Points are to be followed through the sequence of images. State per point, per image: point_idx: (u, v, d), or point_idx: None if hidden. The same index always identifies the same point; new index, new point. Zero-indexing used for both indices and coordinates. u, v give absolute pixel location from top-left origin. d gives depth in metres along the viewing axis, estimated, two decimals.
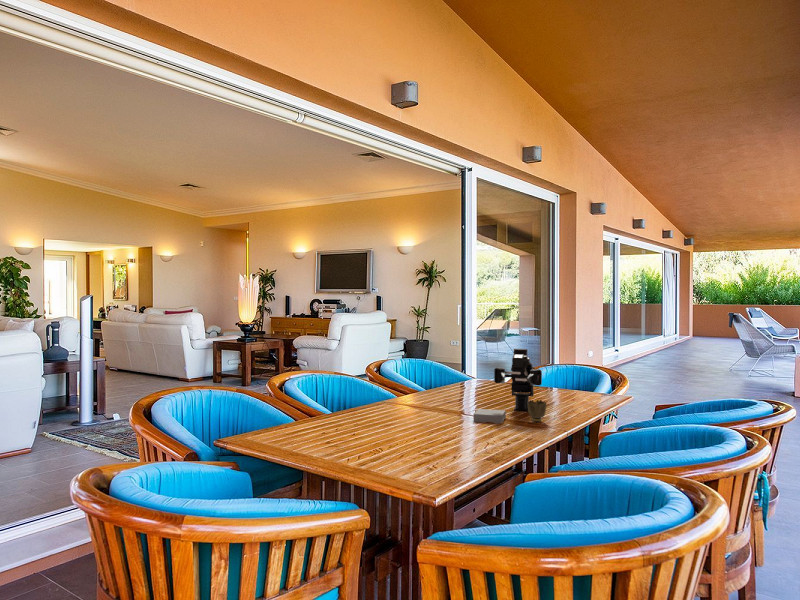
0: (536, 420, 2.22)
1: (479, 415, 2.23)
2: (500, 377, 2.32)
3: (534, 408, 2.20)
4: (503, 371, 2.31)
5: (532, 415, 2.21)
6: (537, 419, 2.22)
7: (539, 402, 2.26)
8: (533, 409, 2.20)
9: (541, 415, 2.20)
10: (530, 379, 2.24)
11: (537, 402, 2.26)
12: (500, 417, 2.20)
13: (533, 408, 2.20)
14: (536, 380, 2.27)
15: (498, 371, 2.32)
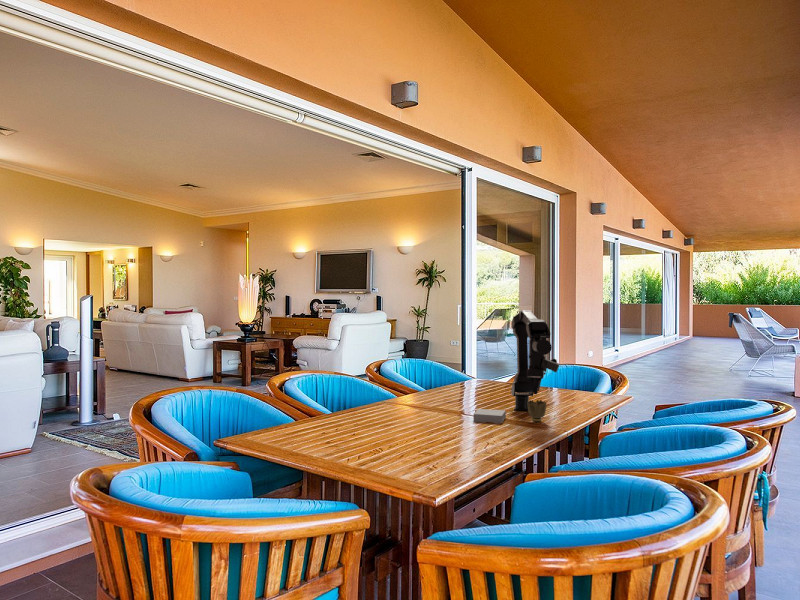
0: (536, 420, 2.22)
1: (479, 415, 2.23)
2: None
3: (534, 408, 2.20)
4: None
5: (532, 415, 2.21)
6: (537, 419, 2.22)
7: (539, 402, 2.26)
8: (533, 409, 2.20)
9: (541, 415, 2.20)
10: None
11: (537, 402, 2.26)
12: (500, 417, 2.20)
13: (533, 408, 2.20)
14: None
15: (540, 378, 2.16)
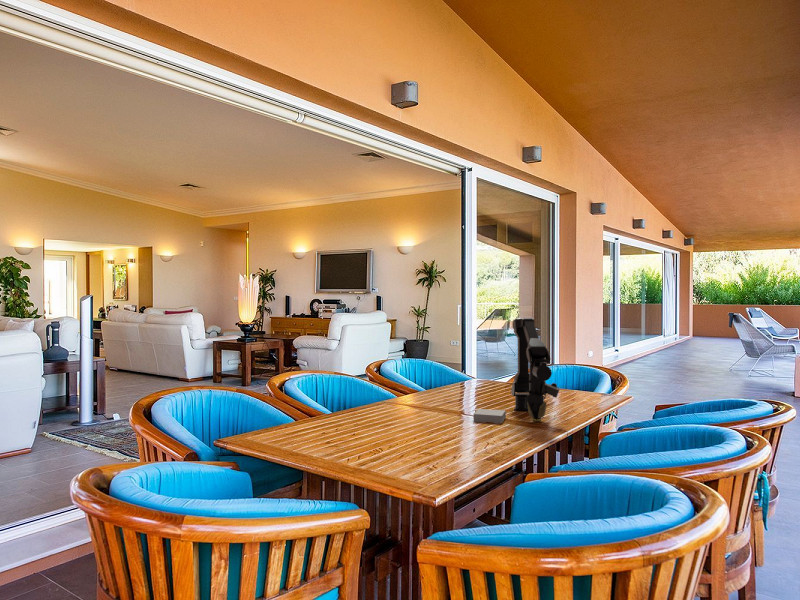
0: (536, 420, 2.22)
1: (479, 415, 2.23)
2: None
3: None
4: None
5: (532, 415, 2.21)
6: (537, 419, 2.22)
7: None
8: None
9: (541, 415, 2.20)
10: None
11: None
12: (500, 417, 2.20)
13: None
14: None
15: None
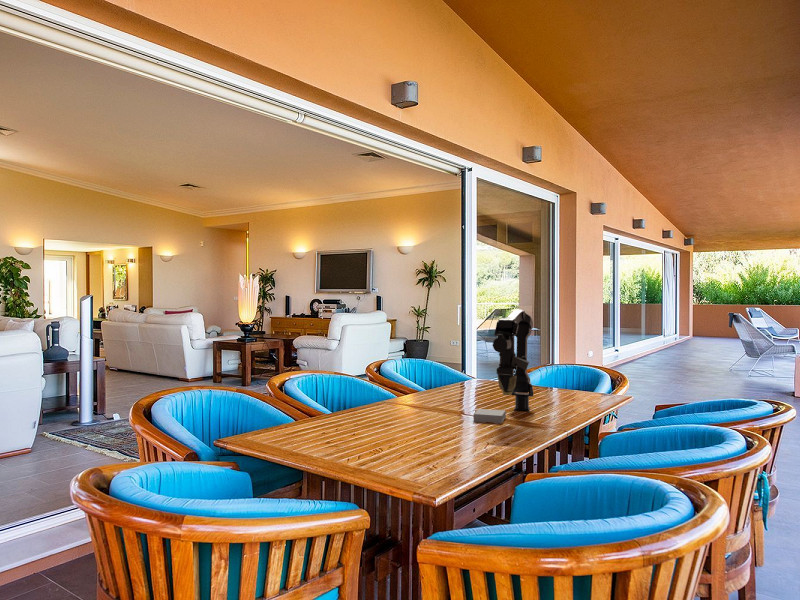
0: (506, 393, 2.24)
1: (479, 415, 2.23)
2: None
3: None
4: (511, 376, 2.21)
5: (502, 388, 2.23)
6: (507, 392, 2.24)
7: None
8: None
9: (511, 388, 2.23)
10: None
11: None
12: (500, 417, 2.20)
13: None
14: None
15: (510, 375, 2.19)
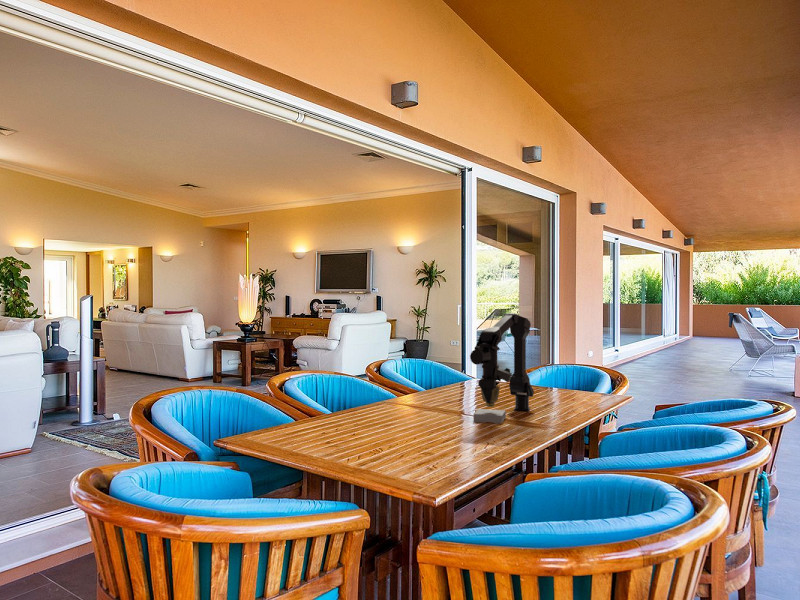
0: (489, 404, 2.25)
1: (479, 415, 2.23)
2: None
3: None
4: (493, 388, 2.22)
5: (485, 399, 2.25)
6: (490, 403, 2.25)
7: None
8: None
9: (494, 399, 2.24)
10: None
11: None
12: (500, 417, 2.20)
13: None
14: None
15: (492, 388, 2.20)
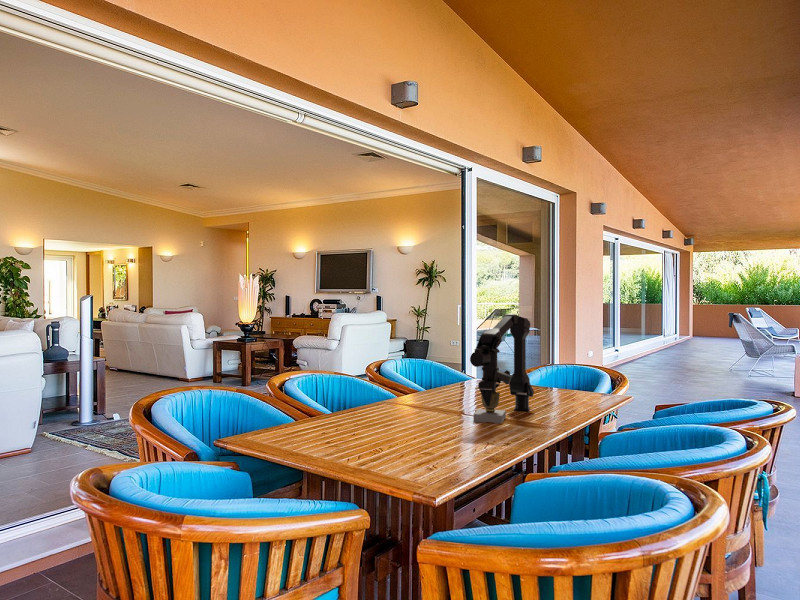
0: (489, 410, 2.25)
1: (479, 415, 2.23)
2: None
3: None
4: None
5: (485, 405, 2.25)
6: (490, 409, 2.25)
7: (493, 393, 2.30)
8: None
9: (494, 405, 2.24)
10: None
11: None
12: (500, 417, 2.20)
13: None
14: None
15: (491, 390, 2.19)
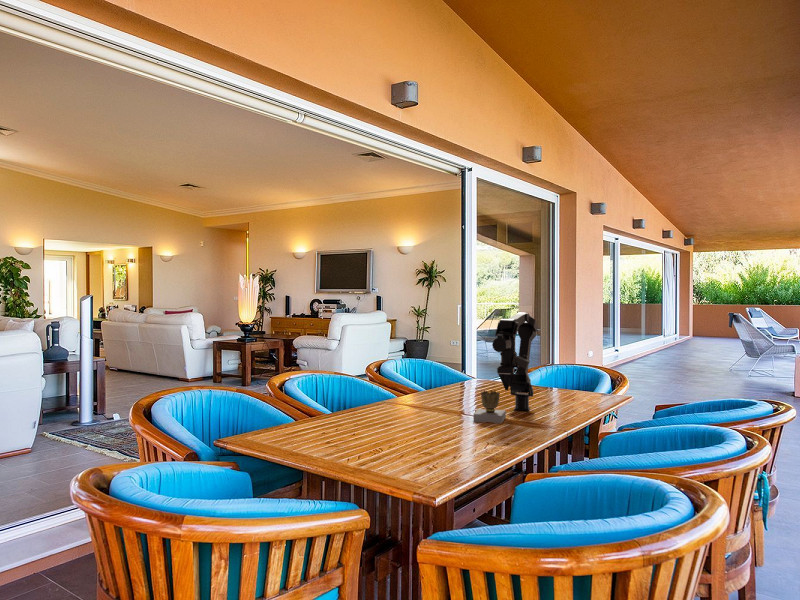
0: (489, 410, 2.25)
1: (479, 415, 2.23)
2: None
3: (487, 398, 2.24)
4: (511, 376, 2.27)
5: (485, 405, 2.25)
6: (490, 409, 2.25)
7: (493, 393, 2.30)
8: (486, 399, 2.24)
9: (494, 405, 2.24)
10: None
11: (491, 393, 2.30)
12: (500, 417, 2.20)
13: (486, 398, 2.24)
14: None
15: (510, 375, 2.25)
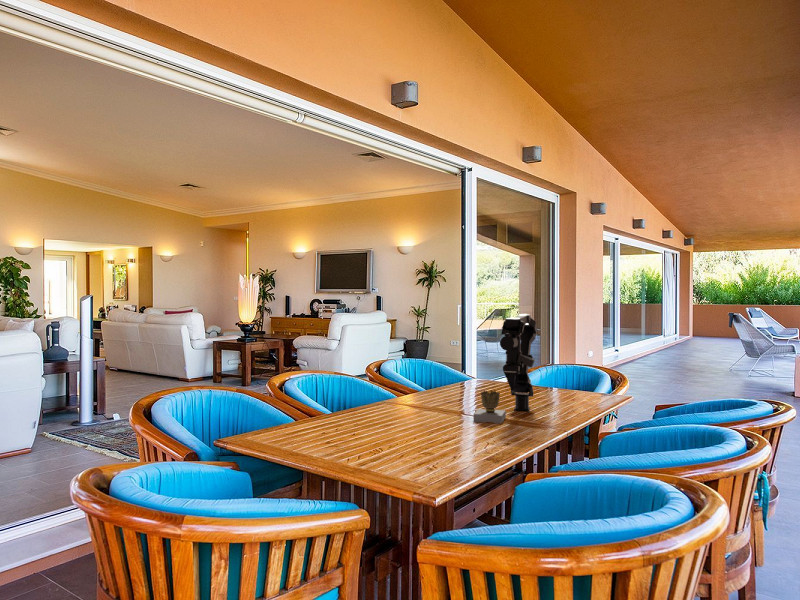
0: (489, 410, 2.25)
1: (479, 415, 2.23)
2: None
3: (487, 398, 2.24)
4: (516, 374, 2.28)
5: (485, 405, 2.25)
6: (490, 409, 2.25)
7: (493, 393, 2.30)
8: (486, 399, 2.24)
9: (494, 405, 2.24)
10: None
11: (491, 393, 2.30)
12: (500, 417, 2.20)
13: (486, 398, 2.24)
14: None
15: (515, 373, 2.26)
